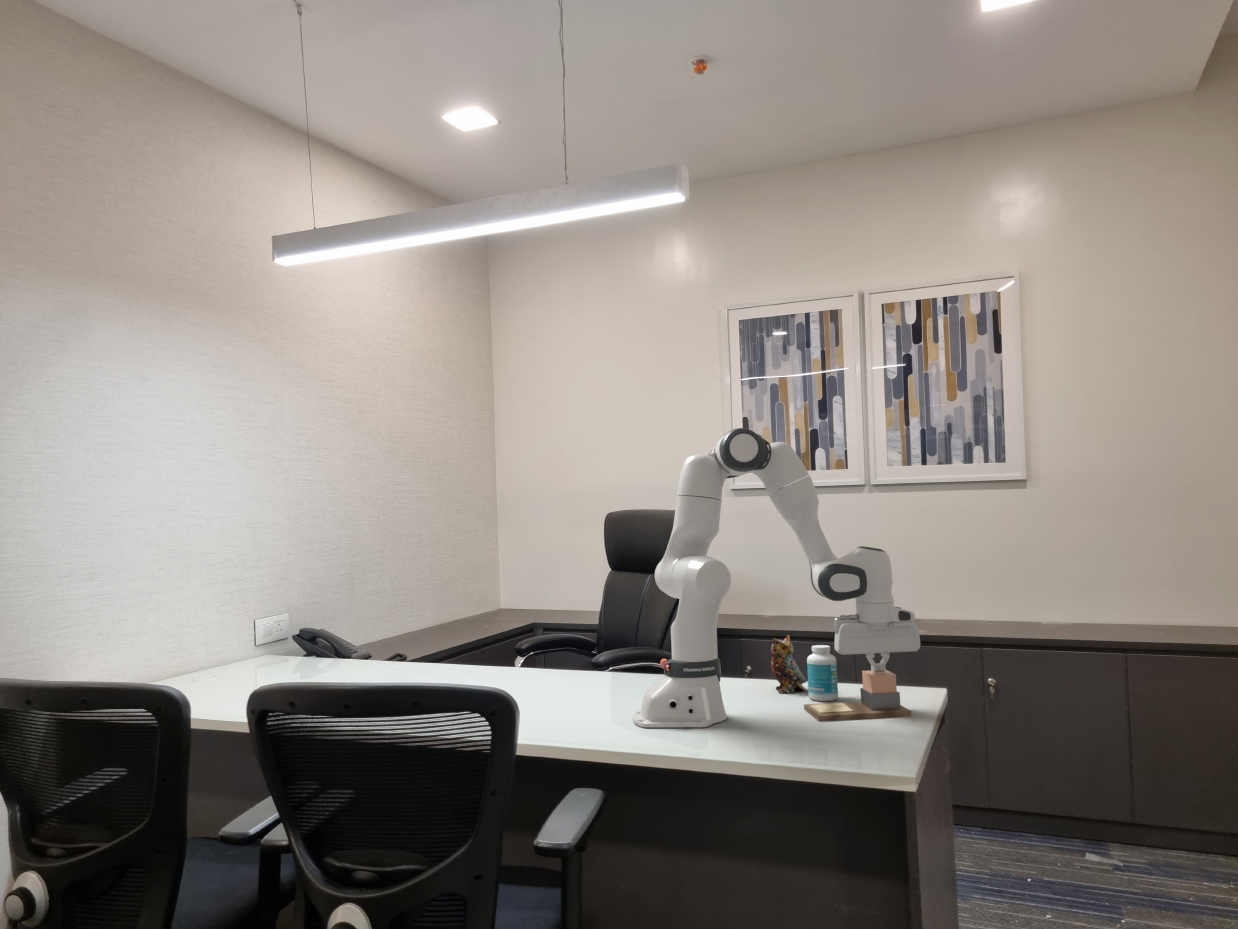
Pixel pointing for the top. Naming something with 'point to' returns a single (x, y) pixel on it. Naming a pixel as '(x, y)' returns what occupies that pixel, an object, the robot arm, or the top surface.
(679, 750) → the top surface
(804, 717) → the top surface
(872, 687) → the salmon pink block
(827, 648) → the pill bottle
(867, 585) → the robot arm
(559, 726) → the top surface
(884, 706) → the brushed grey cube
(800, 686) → the figurine
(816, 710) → the board
